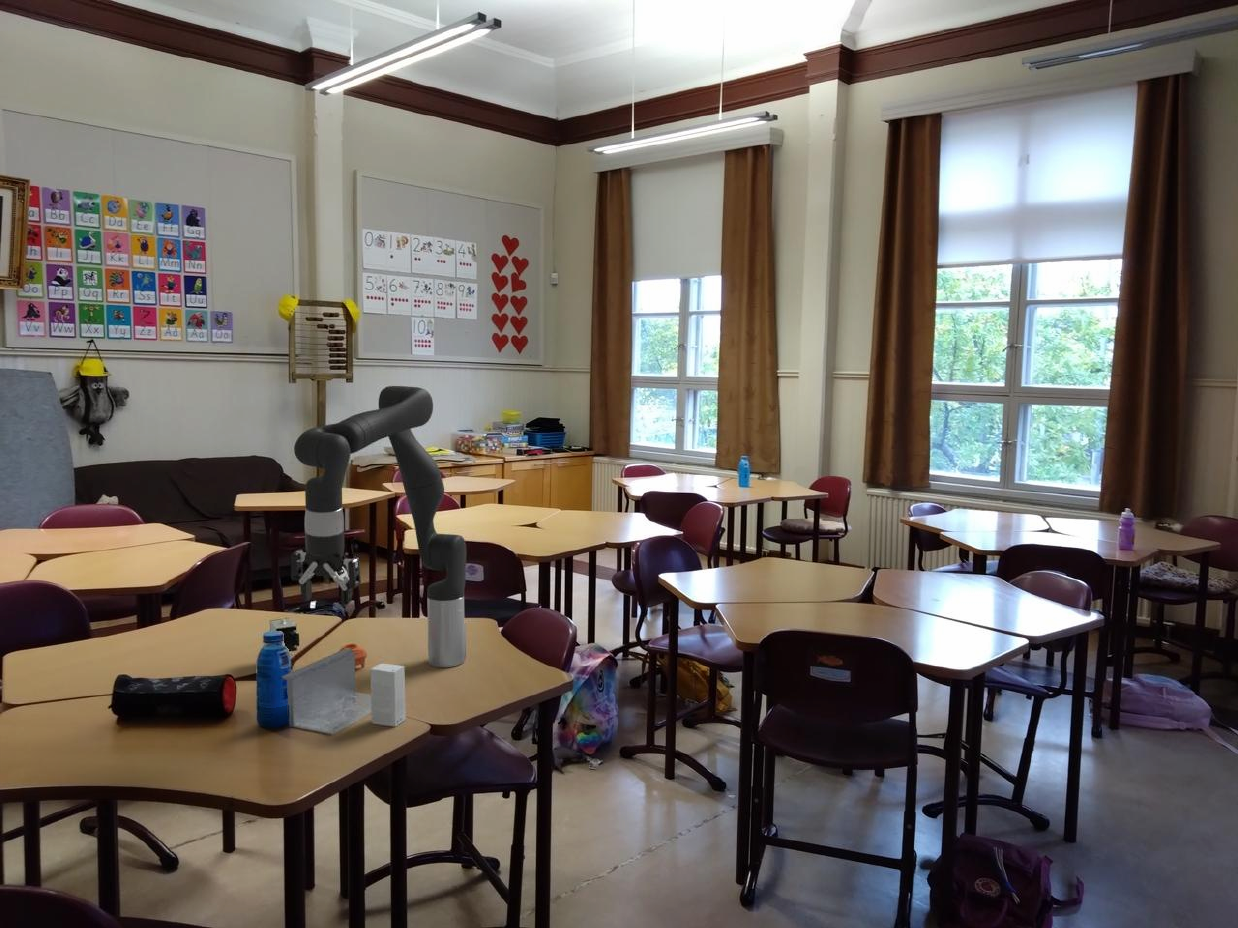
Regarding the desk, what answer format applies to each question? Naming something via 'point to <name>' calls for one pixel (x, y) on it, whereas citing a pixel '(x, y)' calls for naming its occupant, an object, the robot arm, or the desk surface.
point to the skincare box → (388, 694)
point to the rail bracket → (326, 694)
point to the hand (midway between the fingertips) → (326, 602)
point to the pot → (357, 654)
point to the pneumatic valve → (287, 632)
